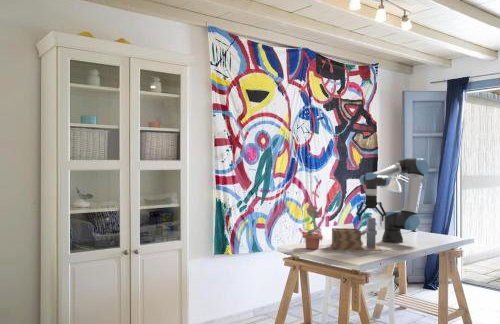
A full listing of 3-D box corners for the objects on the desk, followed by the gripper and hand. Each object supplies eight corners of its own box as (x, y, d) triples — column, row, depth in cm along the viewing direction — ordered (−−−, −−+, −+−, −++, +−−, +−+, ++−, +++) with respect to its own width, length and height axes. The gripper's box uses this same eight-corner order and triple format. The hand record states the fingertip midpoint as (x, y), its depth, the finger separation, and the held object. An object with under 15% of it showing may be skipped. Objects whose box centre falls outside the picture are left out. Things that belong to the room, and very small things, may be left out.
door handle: (346, 253, 314) (371, 240, 310) (340, 243, 315) (365, 230, 311) (346, 248, 331) (370, 236, 327) (341, 239, 332) (364, 226, 328)
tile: (377, 247, 308) (377, 245, 308) (382, 250, 294) (382, 249, 294) (360, 246, 309) (360, 245, 309) (364, 250, 295) (364, 249, 295)
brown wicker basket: (358, 246, 308) (359, 228, 308) (362, 250, 295) (362, 231, 295) (330, 246, 309) (330, 228, 310) (332, 249, 297) (332, 230, 297)
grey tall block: (372, 245, 308) (372, 216, 308) (376, 249, 295) (376, 219, 295) (365, 245, 308) (365, 216, 308) (369, 249, 295) (369, 219, 295)
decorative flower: (327, 248, 301) (327, 205, 301) (317, 251, 291) (317, 206, 291) (309, 245, 311) (309, 203, 311) (298, 248, 300) (298, 205, 301)
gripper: (388, 194, 305) (387, 225, 304) (352, 194, 306) (351, 224, 306) (390, 195, 297) (390, 226, 297) (353, 195, 299) (353, 226, 298)
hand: (371, 225), depth 301 cm, fingers open, 13 cm apart
